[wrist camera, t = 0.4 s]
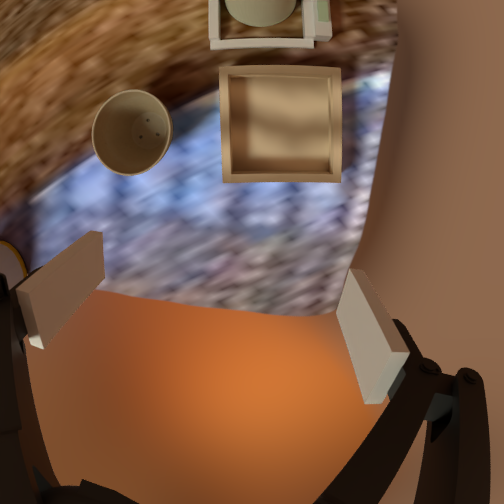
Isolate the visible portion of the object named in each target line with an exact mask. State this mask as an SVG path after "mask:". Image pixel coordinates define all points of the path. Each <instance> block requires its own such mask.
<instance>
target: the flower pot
mask: <svg viewBox="0 0 504 504" xmlns="http://www.w3.org/2000/svg"><path fill="white" fill-rule="evenodd" d="M147 119H148V121H147ZM157 133H159V134H157ZM172 136H173V122H172V118H171V115H170V113H169V111H168V109H167V108H166V106H165V105H164V104H163V103H162V102H161V101H160V100H159V99H158V98H157V97H155V96H154V95H152V94H150V93H148V92H146V91H142V90H135V89H133V90H125V91H122V92H119V93H117V94H115V95H113V96H112V97H110V98H109V99H108V100H107V101H106V102H105V103H104V104H103V105H102V106H101V108H100V109H99V111H98V113H97V115H96V117H95V120H94V123H93V127H92V143H93V148H94V151H95V153H96V155H97V157H98V159H99V160H100V161H101V163H102V164H103V165H104V166H105V167H106V168H108V169H109V170H111V171H112V172H114V173H117V174H120V175H125V176H132V175H138V174H141V173H144V172H146V171H148V170H149V169H151V168H152V167H154V166H155V165H156V164H157V163H158V162H159V161H160V160H161V159H162V158H163V156H164V155H165V154H166V152H167V150H168V148H169V146H170V144H171V140H172ZM141 137H142V138H141Z"/></svg>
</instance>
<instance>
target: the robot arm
mask: <svg viewBox="0 0 504 504" xmlns="http://www.w3.org/2000/svg"><path fill="white" fill-rule="evenodd" d="M104 278H105V271H104V256H103V234H102V232H97V231H89V232H88V233H87V234H85V235H84V236H82V237H81V238H80V239H78V240H77V241H76V242H74V243H73V244H72V245H70V246H69V247H68V248H66V249H65V250H64V251H62V252H61V253H60V254H58V255H57V256H56V257H54V258H53V259H52V260H51V261H49V262H48V263H47V264H45V265H44V266H42V267H39V268H37V269H35V270H33V271H32V272H31V273H30V274H28V276H26V277H25V278H23V280H21V281H20V282H19V283H17V284H16V285H15V286H14V287H13V288H11V289H10V290H9V287H8V283H7V278H6V275H4V274H3V273H0V504H139V503H137V502H135V501H133V500H131V499H129V498H127V497H126V496H124V495H122V494H120V493H118V492H117V491H115V490H112V489H109V488H106V487H102V486H100V485H97V484H94V483H92V482H89V481H86V480H84V479H82V481H81V484H80V486H61V485H60V484H59V482H58V480H57V478H56V476H55V475H54V472H53V469H52V466H51V463H50V460H49V457H48V454H47V450H46V447H45V444H44V441H43V437H42V433H41V429H40V425H39V421H38V417H37V413H36V408H35V404H34V399H33V394H32V389H31V383H30V377H29V371H28V364H27V358H26V349H25V344H24V341H23V338H24V337H25V336H26V335H27V334H28V337H29V340H30V343H31V345H34V346H36V347H39V348H41V349H45V348H46V346H47V345H48V344H49V343H50V341H51V340H52V339H53V337H54V336H55V335H56V334H57V333H58V331H59V330H60V329H61V328H62V326H63V325H64V324H65V323H66V322H67V321H68V319H69V318H70V317H71V316H72V315H73V313H74V312H75V311H76V310H77V309H78V308H79V306H80V305H81V304H82V303H83V302H84V301H85V299H86V298H87V297H88V296H89V295H90V294H91V293H92V292H93V290H94V289H95V288H96V287H97V286H98V285H99V284H100V283H101V282H102V280H103V279H104ZM336 314H337V317H338V320H339V323H340V326H341V329H342V332H343V335H344V338H345V341H346V345H347V348H348V351H349V354H350V357H351V360H352V363H353V367H354V370H355V373H356V376H357V380H358V383H359V386H360V390H361V393H362V397H363V400H364V403H365V404H381V403H382V401H383V400H384V398H385V397H386V395H387V393H388V396H389V399H390V402H389V404H388V405H387V407H386V408H385V410H384V412H383V413H382V415H381V416H380V418H379V419H378V421H377V422H376V424H375V425H374V427H373V428H372V430H371V431H370V433H369V434H368V435H367V437H366V438H365V440H364V441H363V442H362V444H361V445H360V447H359V448H358V449H357V451H356V452H355V453H354V455H353V456H352V457H351V459H350V460H349V461H348V462H347V464H346V465H345V466H344V468H343V469H342V470H341V471H340V473H339V474H338V475H337V476H336V477H335V479H334V480H333V481H332V482H331V484H330V485H329V486H328V487H327V488H326V489H325V490H324V492H323V493H322V494H321V495H320V496H319V497H318V499H317V500H316V501H315V502H314V503H313V504H378V503H379V501H380V500H381V498H382V497H383V495H384V493H385V492H386V490H387V489H388V487H389V485H390V484H391V482H392V480H393V478H394V477H395V475H396V473H397V472H398V470H399V468H400V466H401V464H402V462H403V461H404V459H405V457H406V455H407V453H408V451H409V449H410V447H411V445H412V443H413V441H414V439H415V437H416V435H417V433H418V431H419V429H420V427H421V425H422V422H423V420H427V430H426V438H425V445H424V453H423V459H422V465H421V470H420V476H419V481H418V486H417V491H416V495H415V500H414V504H489V503H490V440H489V425H488V414H487V405H486V398H485V390H484V383H483V380H482V377H481V376H480V375H479V373H478V372H476V371H475V370H472V369H470V368H461V369H460V370H459V371H458V372H457V374H456V375H455V376H452V375H448V374H443V373H442V371H441V368H440V367H439V365H438V364H437V363H436V362H434V361H432V360H431V359H428V358H423V356H422V354H421V352H420V351H419V349H418V347H417V345H416V344H415V342H414V341H413V339H412V337H411V335H409V332H408V330H407V328H406V327H405V326H404V325H403V324H402V323H401V322H400V321H399V320H398V319H391V317H390V315H389V313H388V312H387V310H386V308H385V306H384V305H383V303H382V301H381V300H380V298H379V296H378V294H377V293H376V291H375V289H374V288H373V286H372V284H371V283H370V281H369V279H368V278H367V276H366V274H365V273H364V271H363V270H357V269H349V273H348V276H347V279H346V283H345V286H344V289H343V293H342V296H341V299H340V302H339V305H338V308H337V311H336Z"/></svg>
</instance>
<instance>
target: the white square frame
mask: <svg viewBox="0 0 504 504" xmlns="http://www.w3.org/2000/svg"><path fill="white" fill-rule="evenodd" d="M301 6H302V21H303V39H296V38H249V39H229V40H220V0H209V40H210V49H211V50H221V49H236V48H310V49H313V48H314V41H327V42H328V41H329V40H330V39H331V37H332V25H331V13H330V1H329V0H301Z"/></svg>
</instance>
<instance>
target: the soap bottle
mask: <svg viewBox="0 0 504 504" xmlns="http://www.w3.org/2000/svg"><path fill="white" fill-rule="evenodd" d="M0 273H3V274H4V275H6V278H7V283H8V287H9V290H10V289H11V288H13V287H14V286H15V285H16V284H17V283H19V282H20V281H21V280H23V278H25V277H26V276H27V270H26V267H25V264H24V261H23V259H22V258H21V256H20V254H19V253H18V251H17V250H16V249H15V248H14V247H13V246H12V245H11V244H9V243H7V242H5V241H0Z"/></svg>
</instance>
